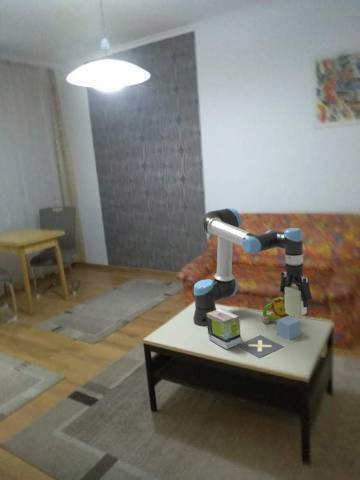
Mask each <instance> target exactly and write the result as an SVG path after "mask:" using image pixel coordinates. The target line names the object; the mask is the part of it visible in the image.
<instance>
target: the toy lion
mask: <svg viewBox="0 0 360 480" xmlns="http://www.w3.org/2000/svg"><path fill="white" fill-rule="evenodd" d="M267 309H270V310H272V311H273V312H271V313H270V314H268V312H267ZM262 316H263V317H262V322H263V324H265V325H266V324H267V325H268V324H270V322H271V321H272V322H273V321H274V322H277V320H279V319H281V318H283V317H286V316H289V317H290V315H288V314H286V312H285V300H284V297H283V296H282V297H281V296H278V297H275V298H274V299H273V300H272V301H271V303H267V304H266V305H265V306H264V307H263V309H262Z"/></svg>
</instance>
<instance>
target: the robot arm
mask: <svg viewBox="0 0 360 480" xmlns="http://www.w3.org/2000/svg"><path fill="white" fill-rule="evenodd" d="M241 224H242V218H241V215H240V213H239V211H238V210H237V209H235V208H232V207H230V208H228V207H227V208H222V209H216V210H210V211H208V212H207V213H205V214H204V215H203V217H202V219H201V227H202V229H203V231H204V232H205V233H207V234H208V235H211V236H217V247H216V248H217V253H216V255H217V256H216V273H215V274H214V275H213V280H212V279H201V280H199V281H197V282H196V283H195V284H194V285H193V296H194V306H195V308H194V314H193V323H194V324H195V325H197V326H200V327H201V326H202V327H204V326H205V327H208V325H207V314H206V313H209V312H212V311H215V310H217V308H216V301H217V302H218V301H221V300H223V299H227V298H230V297H232V296H235V294H237V292H238V288H239V287H238V286H239V285H238V281H237V279H236V278H235V276H234V275H233V274H232V270H233V269H232V268H233V267H232V266H233V248H234V247H233V245H234V244H235V245H238V246H240V247H241V248H242V250H243V251H244V253H245V254H247V255H251V254H258V253H260V252H264V251H269V250H271V249H275V248H277V249H279V248H280V249H283V250H284V252H285V253H284V254H285V255H284V256H285V259H284V261H285V271H282V272H281V275H280V276H281V278H280V280H281V281H280V286H279V292H280V293H282V295H283V298H284V300H285V289H284V288H285V287H290V286H291V285H296V286H297V287H298V289H299V291H301V297H302V300H301V314H304V315H306V314H307V312H308V311H307V310H308V304H309V303H308V301H310V300H312V293H311V288H310V283H309V282H310V278H309V277H308V276H307V277H305V276H304V275H303V272H304V253H303V248H304V247H303V243H304V242H303V241H304V237H303V230H302V229H301V228H297V227H291V228H290V227H289V228H285V230H284V231H280V230H276V229H272V230H271V229H269V230H266V231H265V233H261V234H255V233H252V232H250V231H247V230H244V229H242V228H240V226H241ZM305 313H306V314H305Z"/></svg>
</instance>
